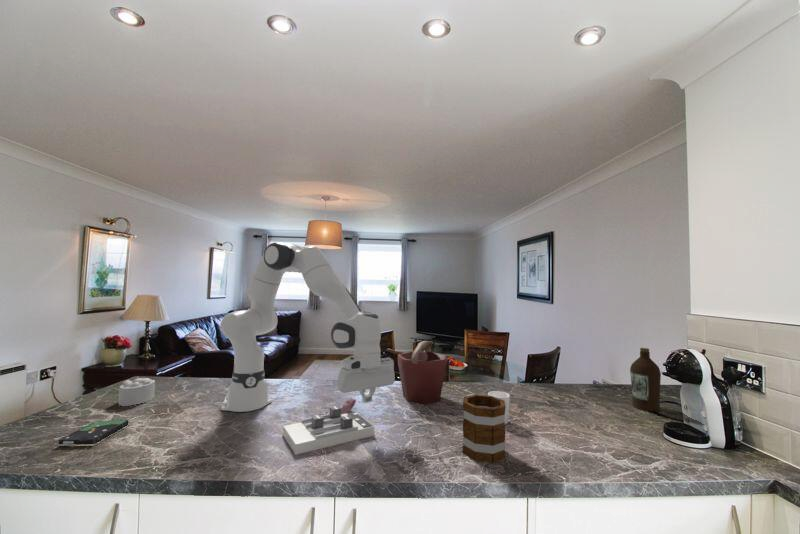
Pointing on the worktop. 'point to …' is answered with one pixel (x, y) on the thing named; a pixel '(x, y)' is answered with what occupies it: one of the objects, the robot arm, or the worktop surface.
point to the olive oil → (645, 382)
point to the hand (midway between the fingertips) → (367, 401)
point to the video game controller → (348, 406)
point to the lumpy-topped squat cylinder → (136, 391)
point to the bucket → (422, 374)
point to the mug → (484, 428)
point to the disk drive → (94, 432)
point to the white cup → (504, 397)
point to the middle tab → (317, 421)
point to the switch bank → (325, 433)
